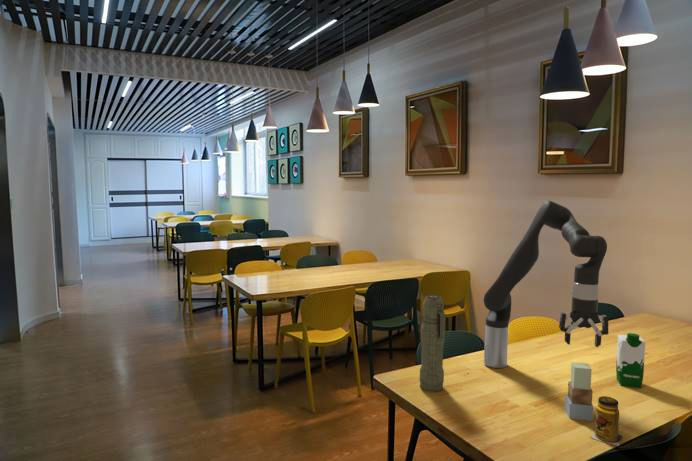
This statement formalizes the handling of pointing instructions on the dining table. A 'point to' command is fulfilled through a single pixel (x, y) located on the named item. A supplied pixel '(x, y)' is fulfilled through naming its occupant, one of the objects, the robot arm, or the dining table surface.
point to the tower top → (579, 395)
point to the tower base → (578, 410)
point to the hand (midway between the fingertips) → (582, 345)
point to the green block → (581, 376)
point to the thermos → (432, 344)
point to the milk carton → (630, 360)
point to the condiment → (607, 421)
